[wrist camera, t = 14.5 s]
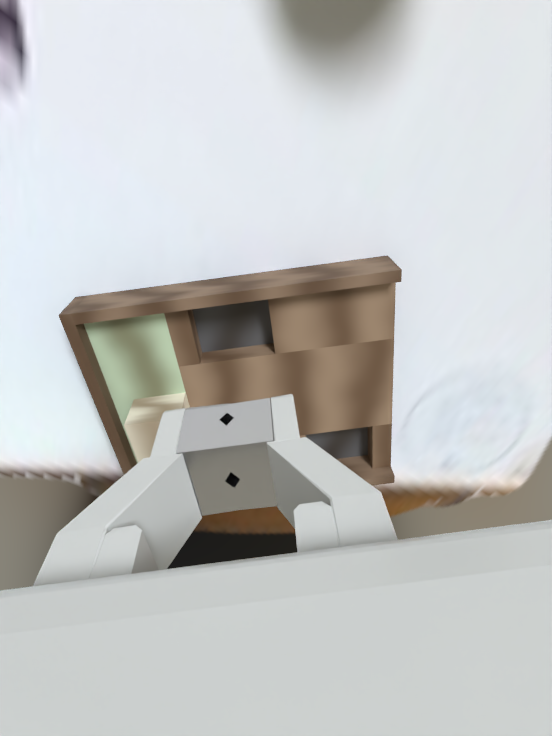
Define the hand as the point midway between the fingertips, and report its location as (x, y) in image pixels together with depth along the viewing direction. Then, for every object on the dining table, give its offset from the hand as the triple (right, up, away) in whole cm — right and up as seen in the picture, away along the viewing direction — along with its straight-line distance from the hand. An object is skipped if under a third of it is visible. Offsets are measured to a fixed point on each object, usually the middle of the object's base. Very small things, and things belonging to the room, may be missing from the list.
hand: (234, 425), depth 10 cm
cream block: (-10, -3, +32) cm, 34 cm away
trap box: (-2, -1, +34) cm, 34 cm away
